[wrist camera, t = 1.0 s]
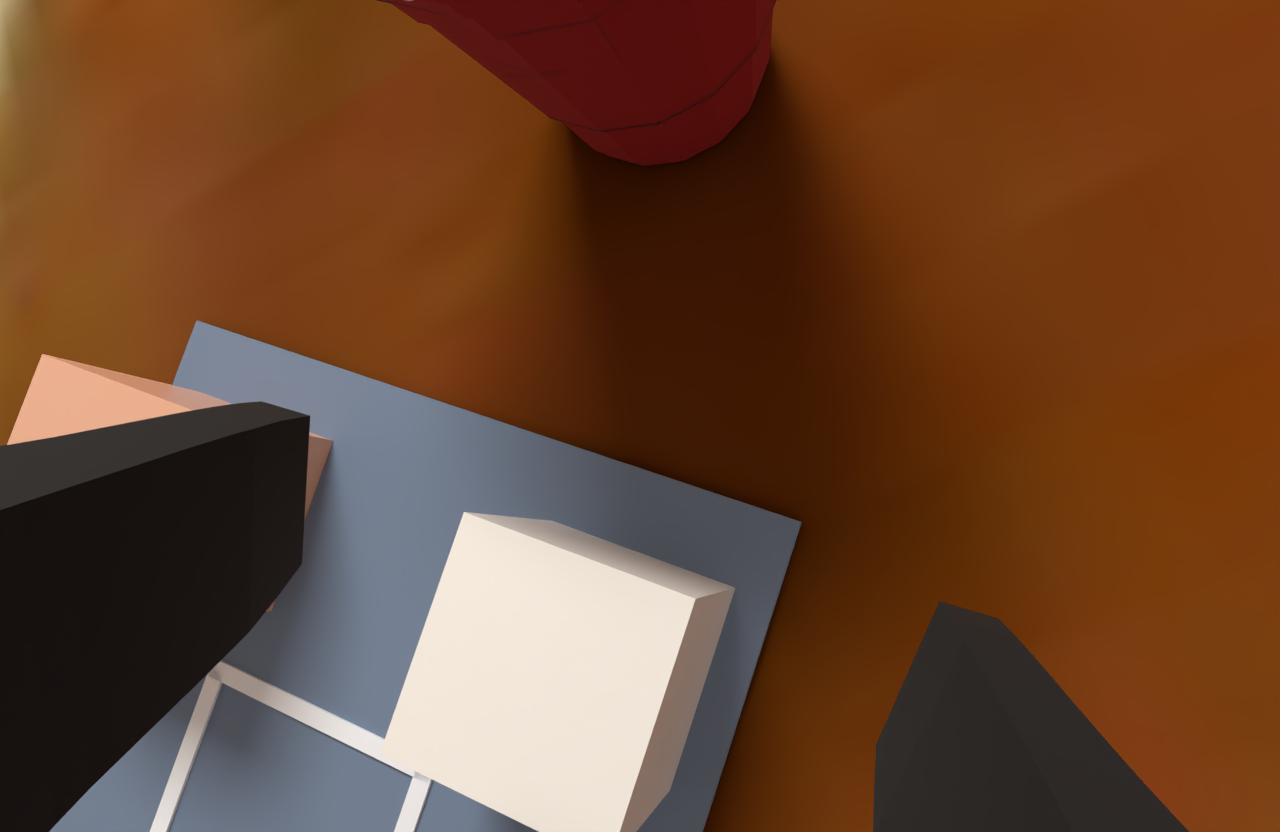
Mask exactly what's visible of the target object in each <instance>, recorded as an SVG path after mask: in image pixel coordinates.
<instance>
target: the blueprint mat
mask: <svg viewBox="0 0 1280 832" xmlns="http://www.w3.org/2000/svg"><path fill="white" fill-rule="evenodd" d="M172 385H174V386H178V387H182V388H186V389H190V390H194V391H199V392H201V393H204V394H207V395H210V396H212V397H215V398H218V399H220V400H223V401H226V402H229V403H231V404H237V403H246V402H259V401H262V402H266V403H269V404H273V405H276V406H279V407H283V408H286V409H289V410H293V411H296V412H300V413H303V414H306V415H310V430H309V432H311V433H314V434H316V435H319V436H322V437H324V438H327V439H330V440H333V443H332V445H331V448H330V451H329V454H328V456H327V459H326V462H325V465H324V467H323V470H322V473H321V476H320V478H319V481H318V484H317V487H316V490H315V492H314V495H313V498H312V501H311V503H310V506H309V509H308V512H307V514H306V517H305V520H304V536H303V553H302V564H301V566H300V567H299V568H298V570H297V571H296V573H295V574H294V575H293V577H292V578H291V579H290V581H289V582H288V583H287V585H286V586H285V587H284V589H283V590H282V591H281V593H280V594H279V595H278V597H277V598H276V600H275V603H274V606H273V608H272V611H267V612H265V613H264V614H263V616H262V617H261V618H260V619H259V621H258V622H257V623H256V624H255V626H254V627H253V628H252V629H251V631H250V632H249V633H248V634H247V635H246V636H245V637H244V638H243V639H242V640H241V641H240V642H239V643H238V644H237V645H236V646H235V647H234V648H233V649H232V650H231V651H230V652H229V653H228V654H227V655H226V656H225V657H224V658H223V659H222V660H221V661H220V662H219V663H218V664H217V665H216V666H215V667H214V668H213V669H212V670H211V671H210V672H209V673H208V674H207V675H206V676H205V677H204V678H203V679H202V680H201V681H200V682H199V683H198V684H197V685H196V686H195V687H194V688H193V689H192V690H191V691H190V692H189V693H188V694H187V695H186V696H185V697H183V698H182V699H181V700H180V701H179V702H178V703H177V704H176V705H175V706H174V707H173V708H172V709H171V710H170V711H169V712H168V713H167V714H166V715H165V716H164V717H163V718H162V719H161V720H160V721H159V722H158V723H157V724H156V725H155V726H154V727H153V728H152V729H151V730H150V731H149V732H147V733H146V734H145V735H144V736H143V737H142V738H141V739H140V740H139V741H138V742H137V743H136V744H135V745H134V746H133V747H132V748H131V749H130V750H129V751H128V752H127V753H126V754H125V755H124V756H123V757H122V758H121V759H120V760H119V761H118V762H117V763H116V764H115V765H114V766H113V767H112V768H111V769H109V770H108V771H107V772H106V773H105V774H104V775H103V776H102V777H101V778H100V779H99V780H98V781H97V782H96V783H95V784H94V785H93V786H92V787H91V788H90V789H89V790H88V791H87V792H86V793H85V794H84V795H83V796H82V797H81V798H80V800H79V801H78V802H77V803H76V804H75V805H74V806H73V807H72V808H71V809H70V810H69V811H68V812H67V813H66V814H65V815H64V816H63V817H62V818H61V819H60V821H59V822H58V823H57V824H56V825H55V826H54V827H53V828H52V829H51V830H50V831H49V832H538V831H536V830H534V829H532V828H530V827H528V826H526V825H524V824H522V823H520V822H518V821H516V820H514V819H512V818H510V817H508V816H506V815H504V814H502V813H500V812H498V811H496V810H494V809H492V808H489V807H487V806H485V805H483V804H481V803H479V802H477V801H475V800H473V799H471V798H469V797H467V796H465V795H463V794H461V793H459V792H457V791H455V790H453V789H451V788H449V787H447V786H445V785H442V784H440V783H438V782H436V781H434V780H432V779H430V778H428V777H426V776H424V775H422V774H420V773H418V772H416V771H414V770H412V769H410V768H408V767H406V766H404V765H402V764H400V763H398V762H396V761H393V760H391V759H389V758H387V757H385V756H383V755H381V754H380V751H381V749H382V746H383V743H384V740H385V737H386V734H387V731H388V728H389V726H390V723H391V720H392V717H393V714H394V711H395V708H396V705H397V703H398V700H399V697H400V694H401V691H402V688H403V685H404V682H405V680H406V677H407V674H408V671H409V668H410V665H411V662H412V660H413V657H414V654H415V651H416V648H417V645H418V642H419V639H420V637H421V634H422V631H423V628H424V625H425V622H426V619H427V616H428V614H429V611H430V608H431V605H432V602H433V599H434V596H435V594H436V591H437V588H438V585H439V582H440V579H441V576H442V573H443V571H444V568H445V565H446V562H447V559H448V556H449V553H450V550H451V548H452V545H453V542H454V539H455V536H456V533H457V530H458V528H459V525H460V522H461V519H462V516H463V513H464V512H470V513H480V514H490V515H500V516H510V517H520V518H530V519H540V520H550V521H554V522H557V523H560V524H563V525H565V526H568V527H571V528H574V529H576V530H579V531H582V532H585V533H587V534H590V535H593V536H595V537H598V538H601V539H604V540H606V541H609V542H612V543H615V544H617V545H620V546H623V547H626V548H628V549H631V550H634V551H637V552H639V553H642V554H645V555H648V556H650V557H653V558H656V559H658V560H661V561H664V562H667V563H669V564H672V565H675V566H678V567H680V568H683V569H686V570H689V571H691V572H694V573H697V574H700V575H702V576H705V577H708V578H710V579H713V580H716V581H719V582H721V583H724V584H727V585H730V586H732V587H735V591H734V594H733V597H732V600H731V603H730V606H729V609H728V612H727V615H726V619H725V622H724V625H723V628H722V631H721V634H720V637H719V640H718V643H717V646H716V649H715V653H714V656H713V659H712V662H711V665H710V668H709V671H708V674H707V677H706V680H705V683H704V687H703V690H702V693H701V696H700V699H699V702H698V705H697V708H696V711H695V714H694V718H693V721H692V724H691V727H690V730H689V733H688V736H687V739H686V742H685V745H684V748H683V752H682V755H681V758H680V761H679V764H678V767H677V770H676V773H675V776H674V779H673V782H672V786H671V789H670V791H669V792H668V793H667V795H666V796H665V797H664V798H663V799H662V801H661V802H660V803H659V804H658V806H657V807H656V808H655V809H654V811H653V812H652V813H651V814H650V815H649V817H648V818H647V819H646V820H645V822H644V823H643V824H642V825H641V827H640V828H639V829H638V830H637V831H636V832H703V830H704V827H705V824H706V821H707V818H708V815H709V812H710V808H711V805H712V802H713V799H714V796H715V793H716V790H717V787H718V783H719V780H720V777H721V774H722V771H723V768H724V765H725V761H726V758H727V755H728V752H729V749H730V746H731V743H732V740H733V736H734V733H735V730H736V727H737V724H738V721H739V718H740V715H741V711H742V708H743V705H744V702H745V699H746V696H747V693H748V690H749V686H750V683H751V680H752V677H753V674H754V671H755V668H756V665H757V661H758V658H759V655H760V652H761V649H762V646H763V643H764V639H765V636H766V633H767V630H768V627H769V624H770V621H771V618H772V614H773V611H774V608H775V605H776V602H777V599H778V596H779V593H780V589H781V586H782V583H783V580H784V577H785V574H786V571H787V568H788V564H789V561H790V558H791V555H792V552H793V549H794V546H795V542H796V539H797V536H798V533H799V530H800V527H801V524H802V522H800V521H797V520H794V519H791V518H788V517H785V516H782V515H779V514H776V513H773V512H770V511H767V510H764V509H761V508H758V507H755V506H752V505H749V504H746V503H743V502H740V501H737V500H734V499H731V498H728V497H725V496H722V495H719V494H716V493H713V492H710V491H707V490H704V489H701V488H698V487H695V486H692V485H689V484H686V483H683V482H680V481H677V480H674V479H671V478H668V477H665V476H662V475H659V474H656V473H653V472H650V471H647V470H644V469H641V468H638V467H635V466H632V465H629V464H626V463H623V462H620V461H617V460H614V459H611V458H608V457H605V456H602V455H599V454H596V453H593V452H590V451H587V450H584V449H581V448H578V447H575V446H572V445H569V444H566V443H563V442H560V441H557V440H554V439H551V438H548V437H545V436H542V435H539V434H536V433H533V432H530V431H527V430H524V429H521V428H518V427H515V426H512V425H509V424H506V423H503V422H500V421H497V420H494V419H491V418H488V417H485V416H482V415H479V414H476V413H473V412H470V411H467V410H464V409H461V408H458V407H455V406H452V405H449V404H446V403H443V402H440V401H437V400H434V399H431V398H428V397H425V396H422V395H419V394H416V393H413V392H410V391H407V390H404V389H401V388H398V387H395V386H392V385H389V384H386V383H383V382H380V381H377V380H374V379H371V378H368V377H365V376H362V375H359V374H356V373H353V372H350V371H347V370H344V369H341V368H338V367H335V366H332V365H329V364H326V363H323V362H320V361H317V360H314V359H311V358H308V357H305V356H302V355H299V354H296V353H293V352H290V351H287V350H284V349H281V348H278V347H275V346H272V345H269V344H266V343H263V342H260V341H257V340H254V339H251V338H248V337H245V336H242V335H239V334H236V333H233V332H230V331H227V330H224V329H221V328H218V327H215V326H212V325H209V324H206V323H203V322H200V321H196V323H195V326H194V329H193V331H192V334H191V337H190V339H189V342H188V345H187V347H186V350H185V353H184V355H183V358H182V361H181V363H180V366H179V369H178V371H177V374H176V376H175V379H174V382H173V384H172Z"/></svg>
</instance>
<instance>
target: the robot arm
mask: <svg viewBox="0 0 1280 832" xmlns="http://www.w3.org/2000/svg"><path fill="white" fill-rule="evenodd" d="M309 430H310V415H306V414H303V413H300V412H296V411H293V410H289V409H286V408H283V407H279V406H276V405H273V404H269V403H266V402H262V401H259V402H246V403H237V404H229V405H222V406H215V407H209V408H203V409H197V410H192V411H186V412H181V413H176V414H170V415H165V416H160V417H155V418H150V419H144V420H139V421H134V422H129V423H124V424H119V425H114V426H108V427H103V428H98V429H93V430H88V431H83V432H78V433H72V434H67V435H62V436H57V437H51V438H45V439H39V440H33V441H28V442H22V443H16V444H10V445H4V446H0V832H49V831H50V830H51V829H52V828H53V827H54V826H55V825H56V824H57V823H58V822H59V821H60V819H61V818H62V817H63V816H64V815H65V814H66V813H67V812H68V811H69V810H70V809H71V808H72V807H73V806H74V805H75V804H76V803H77V802H78V801H79V800H80V798H81V797H82V796H83V795H84V794H85V793H86V792H87V791H88V790H89V789H90V788H91V787H92V786H93V785H94V784H95V783H96V782H97V781H98V780H99V779H100V778H101V777H102V776H103V775H104V774H105V773H106V772H107V771H108V770H109V769H111V768H112V767H113V766H114V765H115V764H116V763H117V762H118V761H119V760H120V759H121V758H122V757H123V756H124V755H125V754H126V753H127V752H128V751H129V750H130V749H131V748H132V747H133V746H134V745H135V744H136V743H137V742H138V741H139V740H140V739H141V738H142V737H143V736H144V735H145V734H146V733H147V732H149V731H150V730H151V729H152V728H153V727H154V726H155V725H156V724H157V723H158V722H159V721H160V720H161V719H162V718H163V717H164V716H165V715H166V714H167V713H168V712H169V711H170V710H171V709H172V708H173V707H174V706H175V705H176V704H177V703H178V702H179V701H180V700H181V699H182V698H183V697H185V696H186V695H187V694H188V693H189V692H190V691H191V690H192V689H193V688H194V687H195V686H196V685H197V684H198V683H199V682H200V681H201V680H202V679H203V678H204V677H205V676H206V675H207V674H208V673H209V672H210V671H211V670H212V669H213V668H214V667H215V666H216V665H217V664H218V663H219V662H220V661H221V660H222V659H223V658H224V657H225V656H226V655H227V654H228V653H229V652H230V651H231V650H232V649H233V648H234V647H235V646H236V645H237V644H238V643H239V642H240V641H241V640H242V639H243V638H244V637H245V636H246V635H247V634H248V633H249V632H250V631H251V629H252V628H253V627H254V626H255V624H256V623H257V622H258V621H259V619H260V618H261V617H262V616H263V614H264V613H265V612H266V611H267V609H268V608H269V607H270V606H271V604H272V603H273V602H274V601H275V599H276V598H277V597H278V595H279V594H280V593H281V591H282V590H283V589H284V587H285V586H286V585H287V583H288V582H289V581H290V579H291V578H292V577H293V575H294V574H295V573H296V571H297V570H298V568H299V567H300V566H301V564H302V553H303V536H304V518H305V501H306V483H307V465H308V448H309ZM873 832H1189V831H1188V830H1187V829H1186V828H1185V827H1184V826H1183V825H1182V824H1181V823H1180V822H1179V821H1178V820H1177V819H1176V817H1175V816H1174V815H1173V814H1172V813H1171V812H1170V811H1169V810H1168V809H1167V808H1166V807H1165V805H1164V804H1163V803H1162V802H1161V801H1160V800H1159V799H1158V798H1157V797H1156V796H1155V795H1154V794H1153V792H1152V791H1151V790H1150V789H1149V788H1148V787H1147V786H1146V785H1145V784H1144V783H1143V781H1142V780H1141V779H1140V778H1139V777H1138V776H1137V775H1136V774H1135V773H1134V771H1133V770H1132V769H1131V768H1130V767H1129V766H1128V765H1127V764H1126V762H1125V761H1124V760H1123V759H1122V758H1121V757H1120V756H1119V755H1118V753H1117V752H1116V751H1115V750H1114V749H1113V748H1112V747H1111V745H1110V744H1109V743H1108V742H1107V741H1106V740H1105V739H1104V737H1103V736H1102V735H1101V734H1100V733H1099V732H1098V731H1097V729H1096V728H1095V727H1094V726H1093V725H1092V724H1091V722H1090V721H1089V720H1088V719H1087V718H1086V717H1085V715H1084V714H1083V713H1082V712H1081V711H1080V710H1079V709H1078V707H1077V706H1076V705H1075V704H1074V703H1073V702H1072V700H1071V699H1070V698H1069V697H1068V696H1067V695H1066V693H1065V692H1064V691H1063V690H1062V689H1061V688H1060V686H1059V685H1058V684H1057V683H1056V682H1055V681H1054V679H1053V678H1052V677H1051V676H1050V675H1049V674H1048V672H1047V671H1046V670H1045V669H1044V668H1043V667H1042V665H1041V664H1040V663H1039V662H1038V661H1037V660H1036V659H1035V657H1034V656H1033V655H1032V654H1031V653H1030V652H1029V651H1028V649H1027V648H1026V647H1025V646H1024V645H1023V644H1022V643H1021V642H1020V641H1019V639H1018V638H1017V637H1016V636H1015V635H1014V634H1013V633H1012V632H1011V631H1010V630H1009V629H1008V628H1007V627H1006V626H1005V625H1004V624H1003V623H1002V622H1001V621H1000V620H999V619H998V618H994V617H991V616H988V615H984V614H981V613H977V612H974V611H971V610H967V609H964V608H960V607H957V606H954V605H950V604H947V603H944V602H939V604H938V606H937V608H936V611H935V613H934V615H933V618H932V620H931V622H930V624H929V627H928V629H927V631H926V633H925V636H924V638H923V640H922V642H921V645H920V647H919V649H918V652H917V654H916V656H915V658H914V661H913V663H912V665H911V667H910V670H909V672H908V674H907V676H906V679H905V681H904V683H903V685H902V688H901V690H900V692H899V695H898V697H897V699H896V701H895V704H894V706H893V708H892V710H891V713H890V715H889V717H888V719H887V722H886V724H885V726H884V729H883V731H882V733H881V735H880V738H879V740H878V742H877V744H876V763H875V786H874V826H873Z"/></svg>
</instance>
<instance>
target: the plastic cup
mask: <svg viewBox="0 0 1280 832" xmlns="http://www.w3.org/2000/svg"><path fill="white" fill-rule="evenodd" d="M378 1H382V2H387V3H391V4H393V5H394V6H396V7H397V8H398V9H400V10H401V11H403V12H404V13H406V14H407V15H408V16H410V17H411V18H413V19H414V20H416V21H417V22H419V23H423V24H428V25H430V26H432V27H433V28H434V29H436V30H437V31H438V32H439V33H441V34H442V35H443V36H445V37H446V38H447V39H449V40H450V41H451V42H452V43H454V44H455V45H456V46H458V47H459V48H460V49H461V50H463V51H464V52H465V53H467V54H468V55H469V56H471V57H472V58H473V59H474V60H476V61H477V62H478V63H480V64H481V65H482V66H483V67H485V68H486V69H487V70H489V71H490V72H491V73H493V74H494V75H495V76H496V77H498V78H499V79H500V80H502V81H503V82H504V83H506V84H507V85H508V86H509V87H511V88H512V89H513V90H515V91H516V92H517V93H518V94H520V95H521V96H522V97H524V98H525V99H526V100H528V101H529V102H530V103H531V104H533V105H534V106H535V107H537V108H538V109H539V110H541V111H542V112H543V113H544V114H546V115H547V116H548V117H550V118H551V119H555V120H558V121H561V122H562V123H563V124H564V125H566V126H567V127H568V128H569V129H570V130H571V131H573V132H574V133H575V134H576V135H577V136H579V137H580V138H581V139H582V140H583V141H584V142H586V143H587V144H588V145H589V146H590V147H591V148H593V149H594V150H595V151H596V152H600V153H603V154H606V155H607V156H609V157H613V158H616V159H620V160H623V161H627V162H630V163H634V164H637V165H641V166H649V165H657V164H666V163H674V162H683V161H685V160H687V159H689V158H691V157H693V156H695V155H697V154H698V153H700V152H702V151H704V150H706V149H708V148H710V147H712V146H714V145H716V144H718V143H720V142H721V141H722V140H723V139H724V138H725V137H726V136H727V134H728V133H729V132H730V131H731V130H732V129H733V128H734V127H735V126H736V125H737V124H738V123H739V122H740V120H741V119H742V118H743V117H744V116H745V115H746V114H747V113H748V112H749V110H750V108H751V105H752V103H753V100H754V98H755V95H756V93H757V90H758V88H759V85H760V83H761V80H762V78H763V75H764V72H765V69H766V67H767V64H768V62H769V57H770V43H771V29H772V16H773V7H774V5H775V2H776V0H378Z"/></svg>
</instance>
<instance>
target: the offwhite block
mask: <svg viewBox="0 0 1280 832" xmlns="http://www.w3.org/2000/svg"><path fill="white" fill-rule="evenodd" d="M734 591H735V587H732V586H730V585H727V584H724V583H721V582H719V581H716V580H713V579H710V578H708V577H705V576H702V575H700V574H697V573H694V572H691V571H689V570H686V569H683V568H680V567H678V566H675V565H672V564H669V563H667V562H664V561H661V560H658V559H656V558H653V557H650V556H648V555H645V554H642V553H639V552H637V551H634V550H631V549H628V548H626V547H623V546H620V545H617V544H615V543H612V542H609V541H606V540H604V539H601V538H598V537H595V536H593V535H590V534H587V533H585V532H582V531H579V530H576V529H574V528H571V527H568V526H565V525H563V524H560V523H557V522H554V521H550V520H540V519H530V518H520V517H510V516H500V515H490V514H480V513H470V512H464V513H463V516H462V519H461V522H460V525H459V528H458V530H457V533H456V536H455V539H454V542H453V545H452V548H451V550H450V553H449V556H448V559H447V562H446V565H445V568H444V571H443V573H442V576H441V579H440V582H439V585H438V588H437V591H436V594H435V596H434V599H433V602H432V605H431V608H430V611H429V614H428V616H427V619H426V622H425V625H424V628H423V631H422V634H421V637H420V639H419V642H418V645H417V648H416V651H415V654H414V657H413V660H412V662H411V665H410V668H409V671H408V674H407V677H406V680H405V682H404V685H403V688H402V691H401V694H400V697H399V700H398V703H397V705H396V708H395V711H394V714H393V717H392V720H391V723H390V726H389V728H388V731H387V734H386V737H385V740H384V743H383V746H382V749H381V751H380V754H381V755H383V756H385V757H387V758H389V759H391V760H393V761H396V762H398V763H400V764H402V765H404V766H406V767H408V768H410V769H412V770H414V771H416V772H418V773H420V774H422V775H424V776H426V777H428V778H430V779H432V780H434V781H436V782H438V783H440V784H442V785H445V786H447V787H449V788H451V789H453V790H455V791H457V792H459V793H461V794H463V795H465V796H467V797H469V798H471V799H473V800H475V801H477V802H479V803H481V804H483V805H485V806H487V807H489V808H492V809H494V810H496V811H498V812H500V813H502V814H504V815H506V816H508V817H510V818H512V819H514V820H516V821H518V822H520V823H522V824H524V825H526V826H528V827H530V828H532V829H534V830H536V831H538V832H636V831H637V830H638V829H639V828H640V827H641V825H642V824H643V823H644V822H645V820H646V819H647V818H648V817H649V815H650V814H651V813H652V812H653V811H654V809H655V808H656V807H657V806H658V804H659V803H660V802H661V801H662V799H663V798H664V797H665V796H666V795H667V793H668V792H669V791H670V789H671V786H672V782H673V779H674V776H675V773H676V770H677V767H678V764H679V761H680V758H681V755H682V752H683V748H684V745H685V742H686V739H687V736H688V733H689V730H690V727H691V724H692V721H693V718H694V714H695V711H696V708H697V705H698V702H699V699H700V696H701V693H702V690H703V687H704V683H705V680H706V677H707V674H708V671H709V668H710V665H711V662H712V659H713V656H714V653H715V649H716V646H717V643H718V640H719V637H720V634H721V631H722V628H723V625H724V622H725V619H726V615H727V612H728V609H729V606H730V603H731V600H732V597H733V594H734Z"/></svg>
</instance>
